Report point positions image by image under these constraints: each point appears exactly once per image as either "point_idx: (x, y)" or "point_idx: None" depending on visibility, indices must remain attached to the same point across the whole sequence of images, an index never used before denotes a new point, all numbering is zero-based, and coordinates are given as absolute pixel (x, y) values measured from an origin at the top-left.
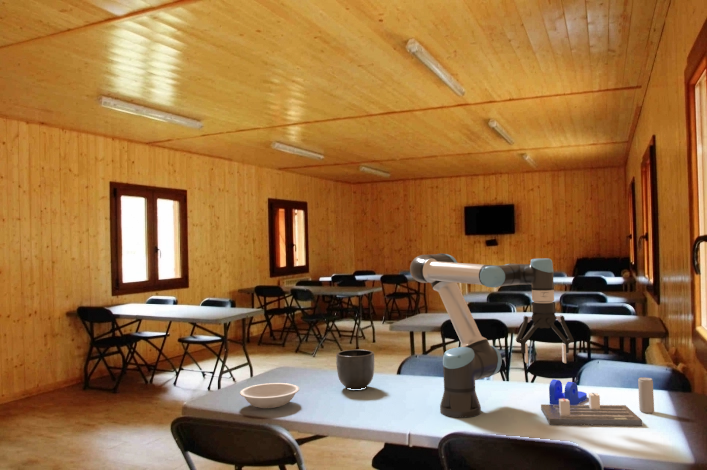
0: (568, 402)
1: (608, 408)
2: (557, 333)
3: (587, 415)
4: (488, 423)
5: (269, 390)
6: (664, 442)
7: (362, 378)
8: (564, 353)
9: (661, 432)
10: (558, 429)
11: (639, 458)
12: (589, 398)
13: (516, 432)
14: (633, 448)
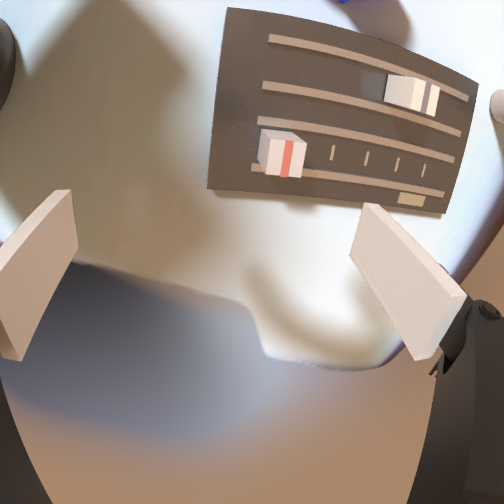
0: (295, 175)
1: None
2: (417, 476)
3: (339, 178)
4: (31, 175)
5: None
6: None
7: None
8: (384, 300)
9: (441, 247)
10: (221, 223)
11: (317, 365)
12: (404, 85)
13: (101, 248)
14: (336, 330)
